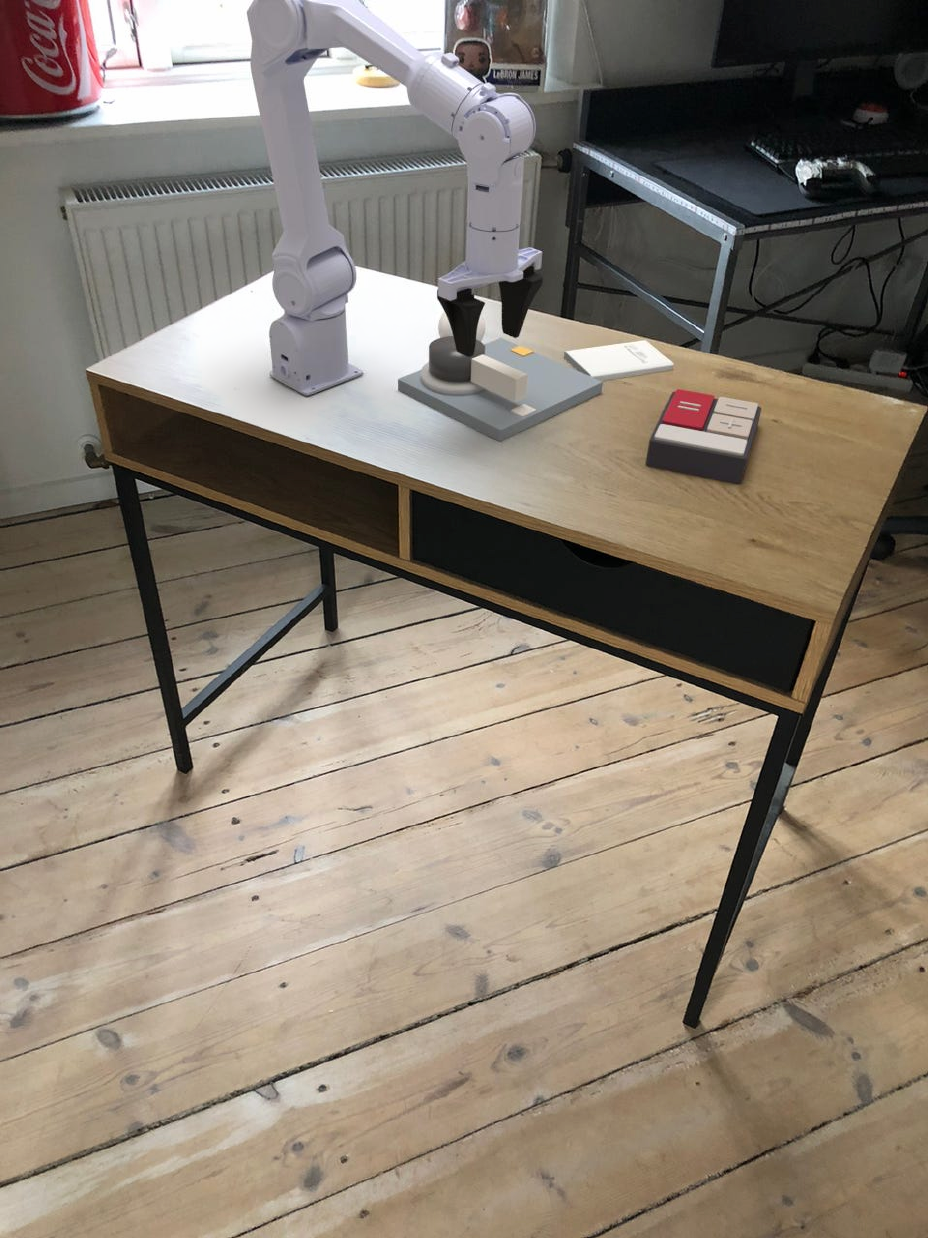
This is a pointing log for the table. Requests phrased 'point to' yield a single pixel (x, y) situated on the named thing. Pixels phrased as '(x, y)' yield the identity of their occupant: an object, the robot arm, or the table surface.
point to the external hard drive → (619, 360)
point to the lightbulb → (447, 331)
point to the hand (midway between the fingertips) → (488, 343)
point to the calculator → (704, 436)
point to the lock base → (495, 414)
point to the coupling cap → (475, 369)
